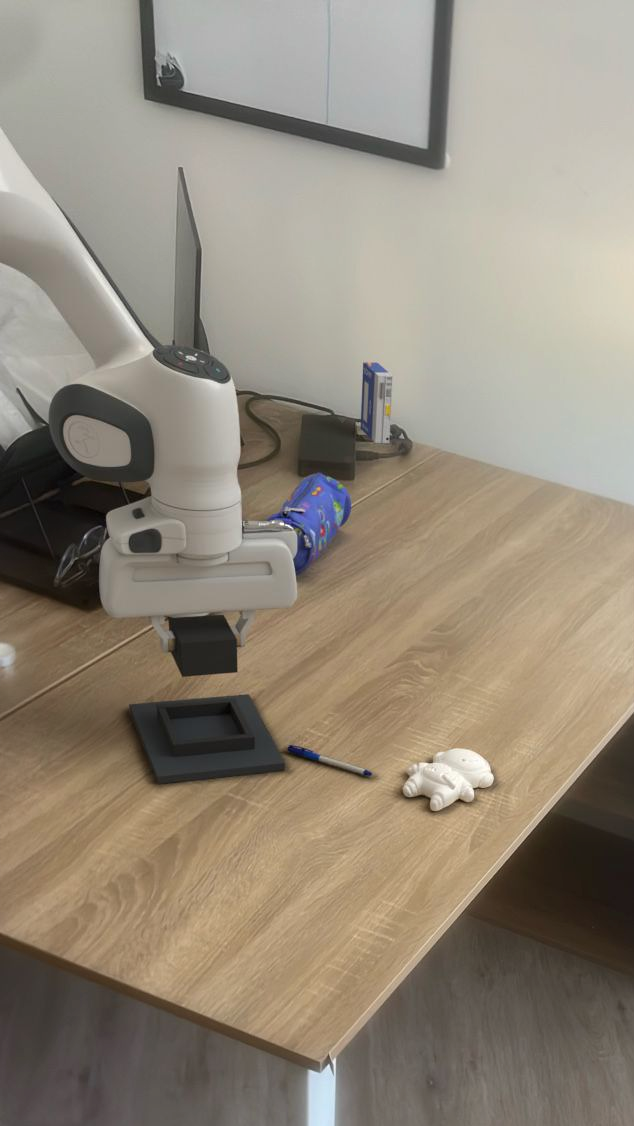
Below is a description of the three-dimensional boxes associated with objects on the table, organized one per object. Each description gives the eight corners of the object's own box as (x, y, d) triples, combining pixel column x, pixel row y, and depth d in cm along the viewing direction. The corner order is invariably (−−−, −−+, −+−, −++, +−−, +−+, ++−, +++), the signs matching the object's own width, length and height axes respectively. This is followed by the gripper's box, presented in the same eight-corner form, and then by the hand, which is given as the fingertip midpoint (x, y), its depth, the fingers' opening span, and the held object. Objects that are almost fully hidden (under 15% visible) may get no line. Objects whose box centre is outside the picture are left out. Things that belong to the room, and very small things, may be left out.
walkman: (360, 428, 236) (363, 360, 228) (374, 428, 237) (377, 360, 229) (375, 443, 231) (378, 374, 223) (389, 443, 232) (393, 374, 224)
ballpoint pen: (285, 753, 146) (285, 745, 145) (289, 749, 146) (289, 742, 146) (370, 778, 144) (370, 770, 143) (373, 774, 145) (373, 766, 144)
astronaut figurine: (384, 786, 143) (385, 763, 141) (453, 751, 151) (455, 729, 149) (442, 819, 140) (445, 796, 138) (510, 781, 148) (513, 759, 146)
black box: (182, 677, 136) (180, 642, 134) (170, 651, 140) (168, 617, 138) (237, 672, 139) (237, 638, 136) (224, 647, 143) (223, 614, 140)
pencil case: (310, 587, 181) (311, 521, 174) (251, 575, 181) (250, 509, 175) (352, 532, 198) (354, 470, 192) (298, 522, 198) (299, 460, 192)
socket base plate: (157, 784, 137) (156, 763, 136) (129, 711, 148) (128, 691, 146) (284, 770, 143) (285, 750, 141) (248, 701, 154) (248, 681, 152)
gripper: (289, 507, 136) (288, 628, 144) (89, 513, 128) (101, 640, 136) (306, 531, 131) (304, 653, 140) (100, 538, 123) (112, 668, 132)
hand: (202, 647), depth 138 cm, fingers closed on black box, 6 cm apart
